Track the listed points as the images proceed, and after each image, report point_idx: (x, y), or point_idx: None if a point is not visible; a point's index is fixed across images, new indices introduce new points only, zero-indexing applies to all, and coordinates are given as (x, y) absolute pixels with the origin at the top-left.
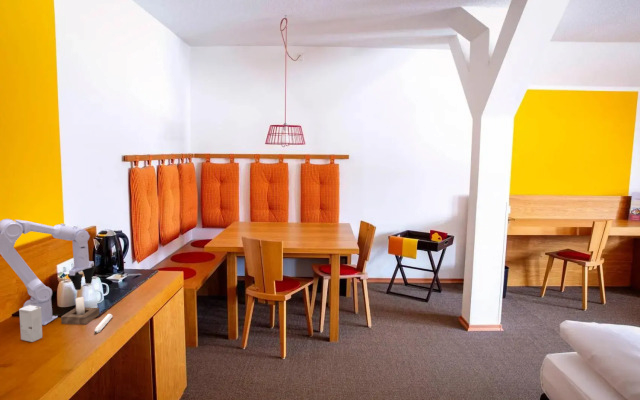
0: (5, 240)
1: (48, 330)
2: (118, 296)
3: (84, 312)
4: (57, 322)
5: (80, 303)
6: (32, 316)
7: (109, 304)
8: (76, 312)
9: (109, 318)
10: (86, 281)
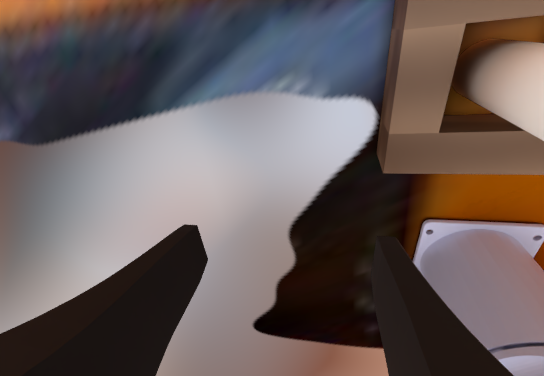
0: None
1: None
2: (89, 67)
3: (518, 42)
4: (508, 186)
5: None
6: None
7: (207, 37)
8: (463, 128)
9: None
10: (197, 271)
